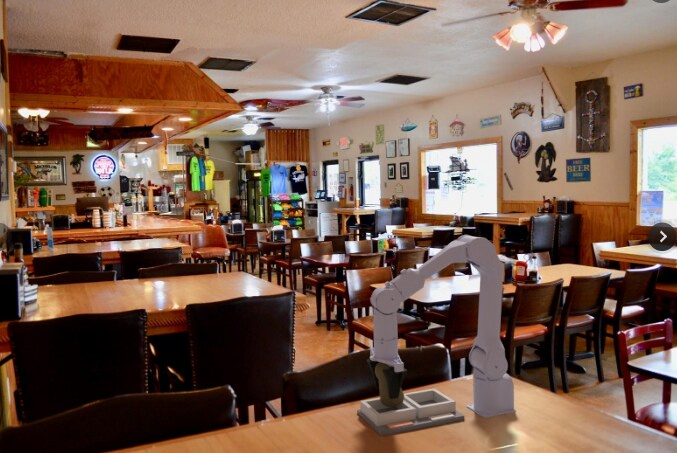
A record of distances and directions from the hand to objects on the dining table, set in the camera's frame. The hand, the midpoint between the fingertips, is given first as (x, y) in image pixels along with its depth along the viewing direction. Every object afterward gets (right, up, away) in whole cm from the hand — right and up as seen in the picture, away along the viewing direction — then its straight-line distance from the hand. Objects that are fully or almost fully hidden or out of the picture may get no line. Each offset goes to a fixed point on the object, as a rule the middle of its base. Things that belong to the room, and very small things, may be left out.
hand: (386, 392), depth 134 cm
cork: (+2, -2, +4) cm, 5 cm away
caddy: (+6, -6, +1) cm, 9 cm away
